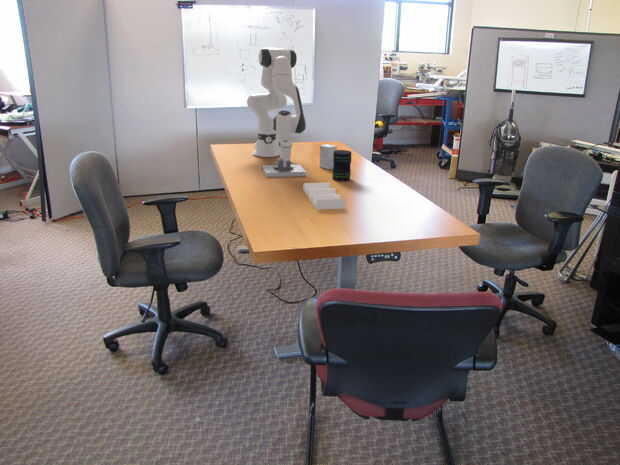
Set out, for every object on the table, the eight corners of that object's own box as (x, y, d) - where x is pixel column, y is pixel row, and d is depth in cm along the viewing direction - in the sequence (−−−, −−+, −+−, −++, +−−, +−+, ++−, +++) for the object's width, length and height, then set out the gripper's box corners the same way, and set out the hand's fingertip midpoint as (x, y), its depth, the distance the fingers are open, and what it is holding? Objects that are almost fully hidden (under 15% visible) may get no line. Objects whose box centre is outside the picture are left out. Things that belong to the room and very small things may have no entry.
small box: (336, 168, 302) (337, 146, 297) (328, 169, 298) (328, 147, 293) (327, 165, 308) (327, 143, 303) (319, 166, 304) (319, 145, 299)
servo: (275, 168, 288) (274, 158, 286) (291, 168, 290) (291, 158, 288) (276, 170, 285) (276, 160, 282) (292, 169, 286) (292, 159, 284)
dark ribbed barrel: (351, 177, 282) (353, 150, 276) (348, 182, 273) (349, 154, 267) (334, 176, 284) (335, 149, 279) (330, 180, 275) (331, 152, 270)
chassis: (262, 169, 294) (262, 165, 293) (299, 168, 298) (299, 164, 297) (266, 177, 278) (266, 172, 277) (305, 176, 282) (305, 171, 281)
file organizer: (327, 188, 262) (327, 179, 260) (344, 209, 230) (345, 199, 228) (302, 189, 260) (302, 179, 258) (316, 210, 228) (316, 199, 226)
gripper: (275, 137, 291) (275, 161, 295) (281, 144, 272) (281, 170, 277) (286, 137, 292) (286, 161, 297) (292, 144, 273) (292, 169, 278)
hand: (283, 165), depth 287 cm, fingers closed on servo, 4 cm apart
